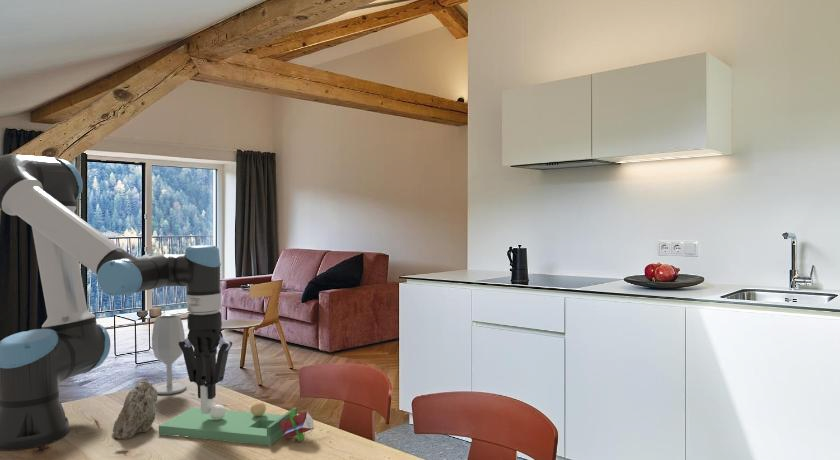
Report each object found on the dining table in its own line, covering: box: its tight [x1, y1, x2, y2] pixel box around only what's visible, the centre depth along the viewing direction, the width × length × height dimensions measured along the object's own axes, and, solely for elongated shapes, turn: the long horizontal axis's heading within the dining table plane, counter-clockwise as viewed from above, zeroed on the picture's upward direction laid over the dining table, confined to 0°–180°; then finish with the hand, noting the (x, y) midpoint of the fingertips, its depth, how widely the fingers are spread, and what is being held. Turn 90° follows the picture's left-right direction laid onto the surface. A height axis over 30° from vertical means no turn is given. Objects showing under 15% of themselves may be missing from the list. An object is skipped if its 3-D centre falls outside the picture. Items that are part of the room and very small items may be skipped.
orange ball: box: [250, 400, 267, 417], centre depth 146 cm, size 4×4×4 cm
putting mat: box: [158, 407, 298, 446], centre depth 143 cm, size 28×13×4 cm, turn 76°
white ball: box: [210, 404, 226, 420], centre depth 144 cm, size 4×4×4 cm
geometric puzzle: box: [279, 407, 315, 444], centre depth 137 cm, size 7×7×8 cm
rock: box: [112, 380, 158, 440], centre depth 143 cm, size 14×10×8 cm
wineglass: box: [151, 314, 188, 395], centre depth 173 cm, size 9×9×21 cm
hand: (207, 411), depth 145 cm, fingers closed
